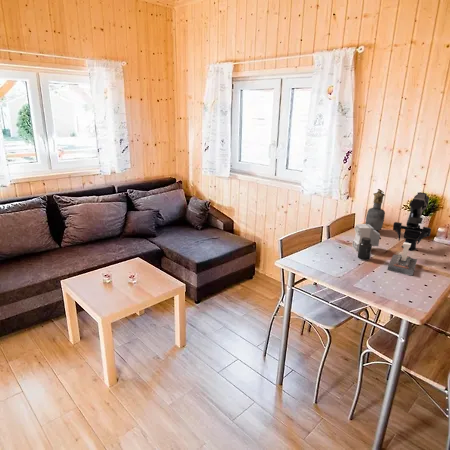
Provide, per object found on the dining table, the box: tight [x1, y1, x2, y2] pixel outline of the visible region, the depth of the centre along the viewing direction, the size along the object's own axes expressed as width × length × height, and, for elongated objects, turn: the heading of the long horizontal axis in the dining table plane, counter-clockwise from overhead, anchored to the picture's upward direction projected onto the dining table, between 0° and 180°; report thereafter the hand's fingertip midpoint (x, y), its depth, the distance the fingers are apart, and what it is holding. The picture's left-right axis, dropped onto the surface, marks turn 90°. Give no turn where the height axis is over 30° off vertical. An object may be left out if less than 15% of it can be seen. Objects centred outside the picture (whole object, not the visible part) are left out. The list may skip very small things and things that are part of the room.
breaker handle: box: [401, 241, 411, 261], centre depth 188 cm, size 3×4×10 cm
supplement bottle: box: [357, 237, 373, 261], centre depth 197 cm, size 7×7×12 cm
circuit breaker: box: [351, 223, 382, 252], centre depth 209 cm, size 8×14×15 cm, turn 89°
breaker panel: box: [387, 253, 418, 277], centre depth 188 cm, size 17×12×5 cm
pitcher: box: [364, 188, 386, 233], centre depth 239 cm, size 11×19×30 cm, turn 150°
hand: (408, 242), depth 193 cm, fingers open, 9 cm apart
